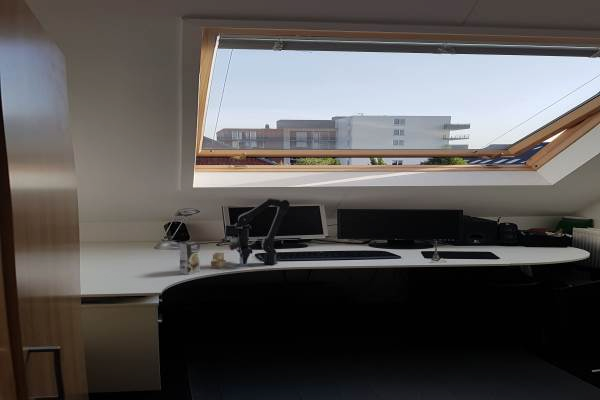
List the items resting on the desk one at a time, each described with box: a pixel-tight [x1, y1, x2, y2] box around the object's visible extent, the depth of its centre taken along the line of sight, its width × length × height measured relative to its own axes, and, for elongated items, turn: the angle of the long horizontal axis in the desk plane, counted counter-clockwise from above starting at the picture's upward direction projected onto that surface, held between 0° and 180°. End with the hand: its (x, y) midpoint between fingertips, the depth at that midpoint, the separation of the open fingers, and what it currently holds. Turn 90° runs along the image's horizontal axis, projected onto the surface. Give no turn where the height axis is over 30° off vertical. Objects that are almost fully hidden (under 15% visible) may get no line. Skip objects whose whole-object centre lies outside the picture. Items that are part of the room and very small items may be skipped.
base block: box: [210, 259, 227, 270], centre depth 247 cm, size 6×6×4 cm
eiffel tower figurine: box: [428, 240, 448, 264], centre depth 269 cm, size 15×10×13 cm
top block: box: [212, 252, 225, 262], centre depth 247 cm, size 5×5×4 cm
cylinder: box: [239, 257, 248, 267], centre depth 253 cm, size 4×4×4 cm
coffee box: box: [179, 240, 201, 275], centre depth 235 cm, size 9×6×16 cm
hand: (243, 263), depth 254 cm, fingers closed on cylinder, 4 cm apart
